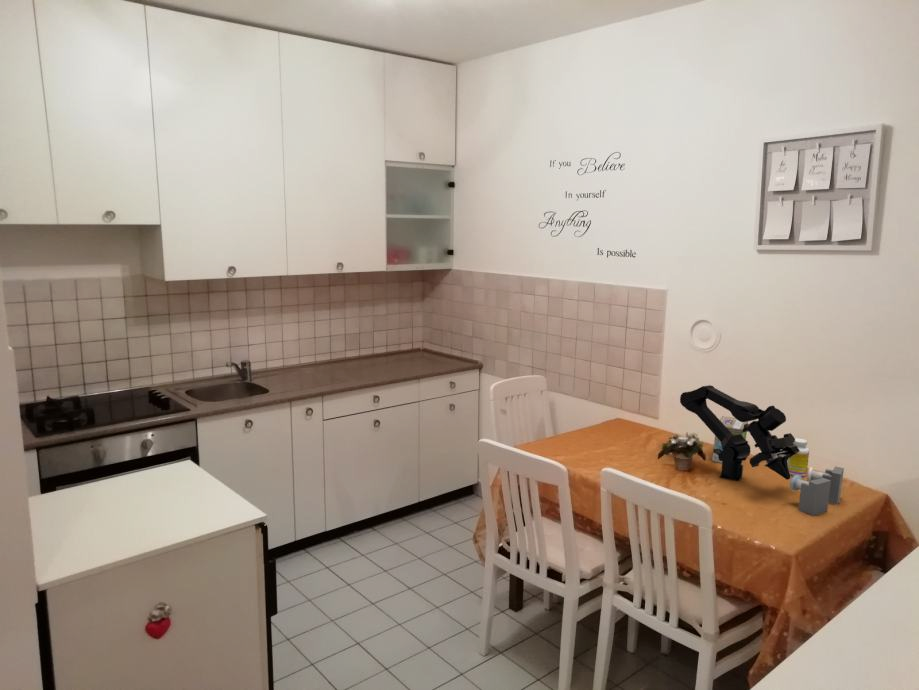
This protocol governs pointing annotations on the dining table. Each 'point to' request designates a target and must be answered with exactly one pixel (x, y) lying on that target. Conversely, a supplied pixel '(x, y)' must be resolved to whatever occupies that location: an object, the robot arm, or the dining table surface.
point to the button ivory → (814, 474)
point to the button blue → (796, 482)
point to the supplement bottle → (799, 459)
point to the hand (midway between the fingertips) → (788, 479)
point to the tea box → (733, 427)
